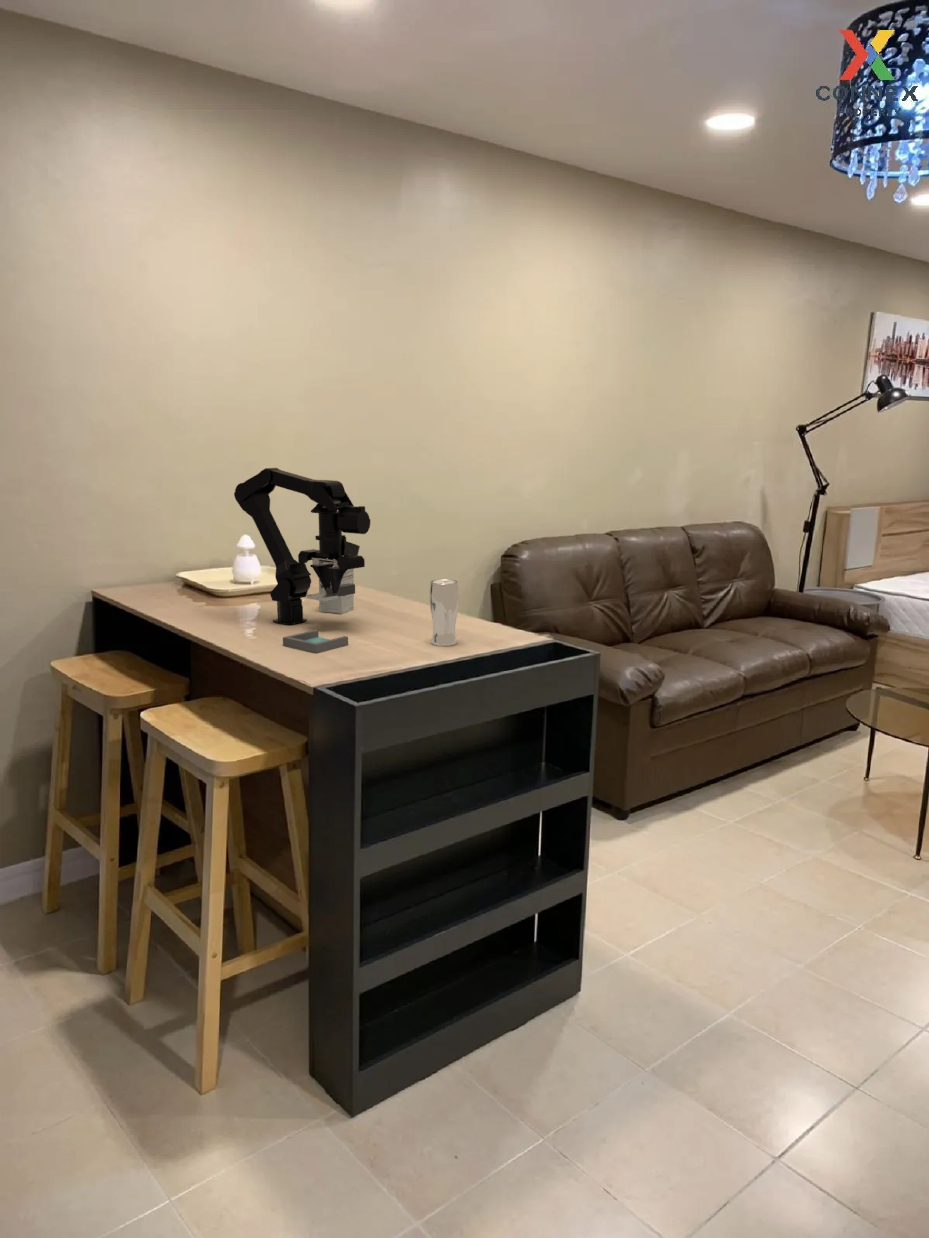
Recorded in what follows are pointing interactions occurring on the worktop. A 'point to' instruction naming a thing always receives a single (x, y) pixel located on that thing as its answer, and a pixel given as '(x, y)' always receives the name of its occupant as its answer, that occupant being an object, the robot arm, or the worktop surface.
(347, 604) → the supplement box
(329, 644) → the corral
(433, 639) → the beer glass
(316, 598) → the turner
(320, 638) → the tile
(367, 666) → the worktop surface
